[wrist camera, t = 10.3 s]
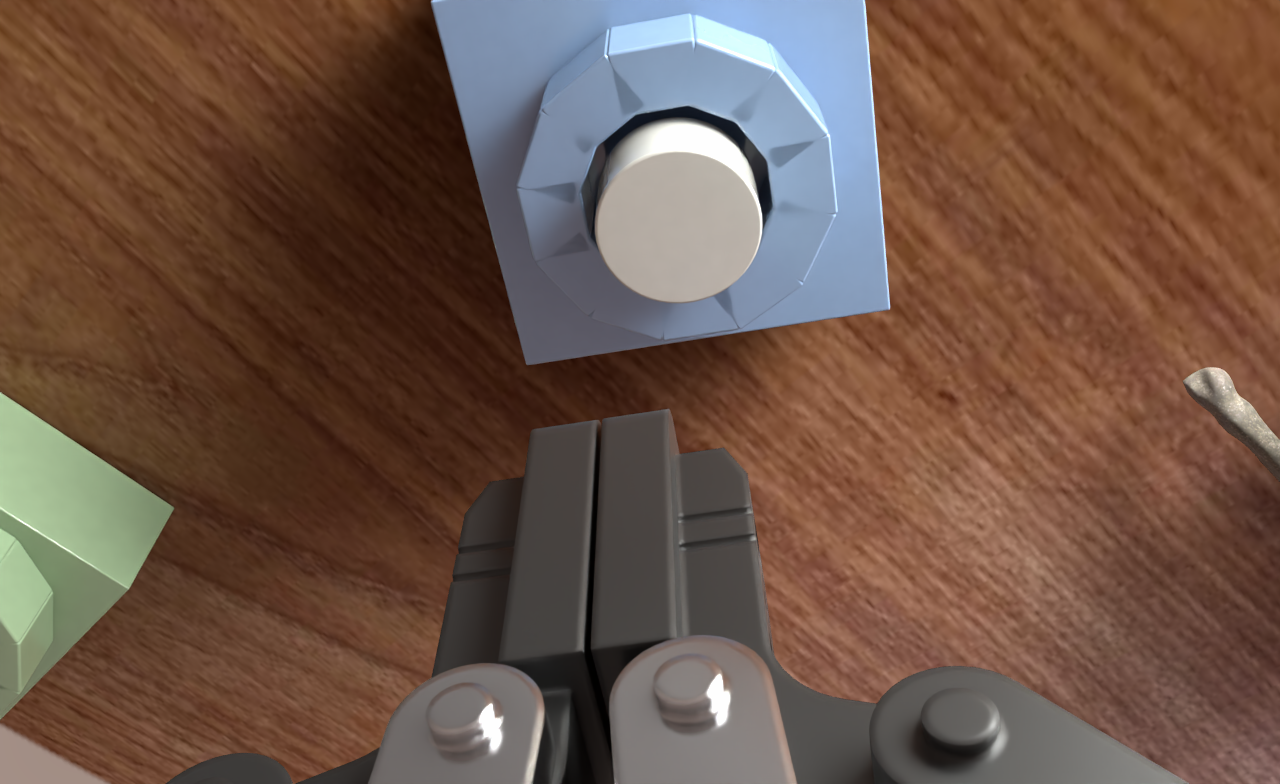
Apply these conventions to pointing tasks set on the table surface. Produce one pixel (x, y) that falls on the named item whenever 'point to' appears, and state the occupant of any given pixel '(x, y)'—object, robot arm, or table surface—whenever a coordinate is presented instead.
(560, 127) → the blue push button base
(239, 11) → the table surface
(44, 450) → the light green square block
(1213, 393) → the dog figurine
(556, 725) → the robot arm
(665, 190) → the white push button
